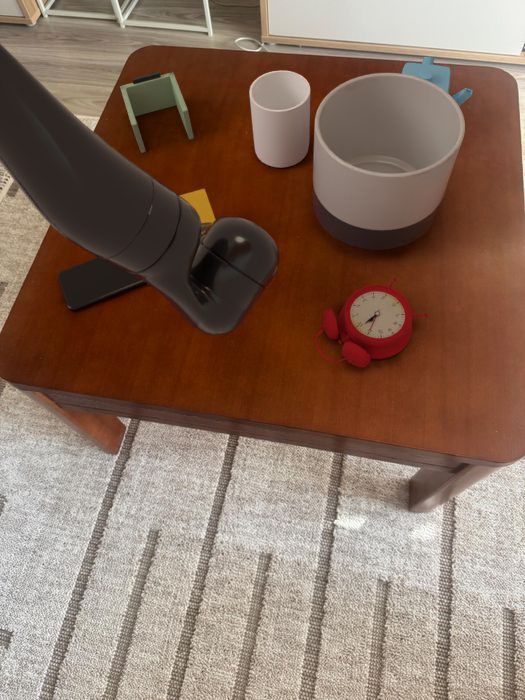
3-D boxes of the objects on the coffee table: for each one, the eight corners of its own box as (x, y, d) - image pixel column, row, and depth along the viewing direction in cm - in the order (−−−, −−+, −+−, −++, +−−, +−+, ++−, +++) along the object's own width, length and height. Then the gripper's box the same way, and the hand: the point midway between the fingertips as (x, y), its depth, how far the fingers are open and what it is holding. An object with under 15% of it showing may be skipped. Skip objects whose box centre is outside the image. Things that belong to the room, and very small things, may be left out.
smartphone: (70, 314, 79) (169, 275, 81) (68, 311, 78) (168, 271, 80) (58, 275, 82) (153, 238, 84) (55, 272, 82) (152, 234, 84)
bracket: (194, 138, 94) (186, 105, 88) (141, 153, 93) (130, 121, 87) (180, 101, 99) (172, 67, 93) (129, 114, 98) (118, 82, 92)
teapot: (386, 88, 97) (395, 34, 88) (464, 97, 95) (482, 43, 86) (369, 158, 90) (377, 107, 81) (453, 170, 87) (471, 119, 78)
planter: (311, 262, 81) (314, 177, 65) (311, 169, 89) (314, 73, 73) (440, 262, 79) (475, 175, 63) (427, 167, 88) (456, 69, 72)
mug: (247, 164, 91) (241, 106, 80) (267, 117, 96) (264, 56, 85) (301, 174, 89) (301, 115, 78) (318, 125, 94) (320, 64, 83)
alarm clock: (439, 319, 71) (353, 362, 65) (421, 344, 76) (340, 387, 70) (390, 266, 75) (306, 303, 69) (377, 294, 80) (297, 330, 74)
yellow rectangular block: (222, 251, 83) (216, 222, 76) (194, 260, 82) (185, 231, 76) (210, 217, 86) (203, 186, 80) (183, 225, 86) (174, 194, 79)
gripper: (257, 209, 62) (239, 206, 78) (147, 241, 61) (152, 231, 77) (273, 271, 64) (252, 255, 80) (168, 302, 63) (168, 280, 79)
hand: (203, 243), depth 79 cm, fingers closed
